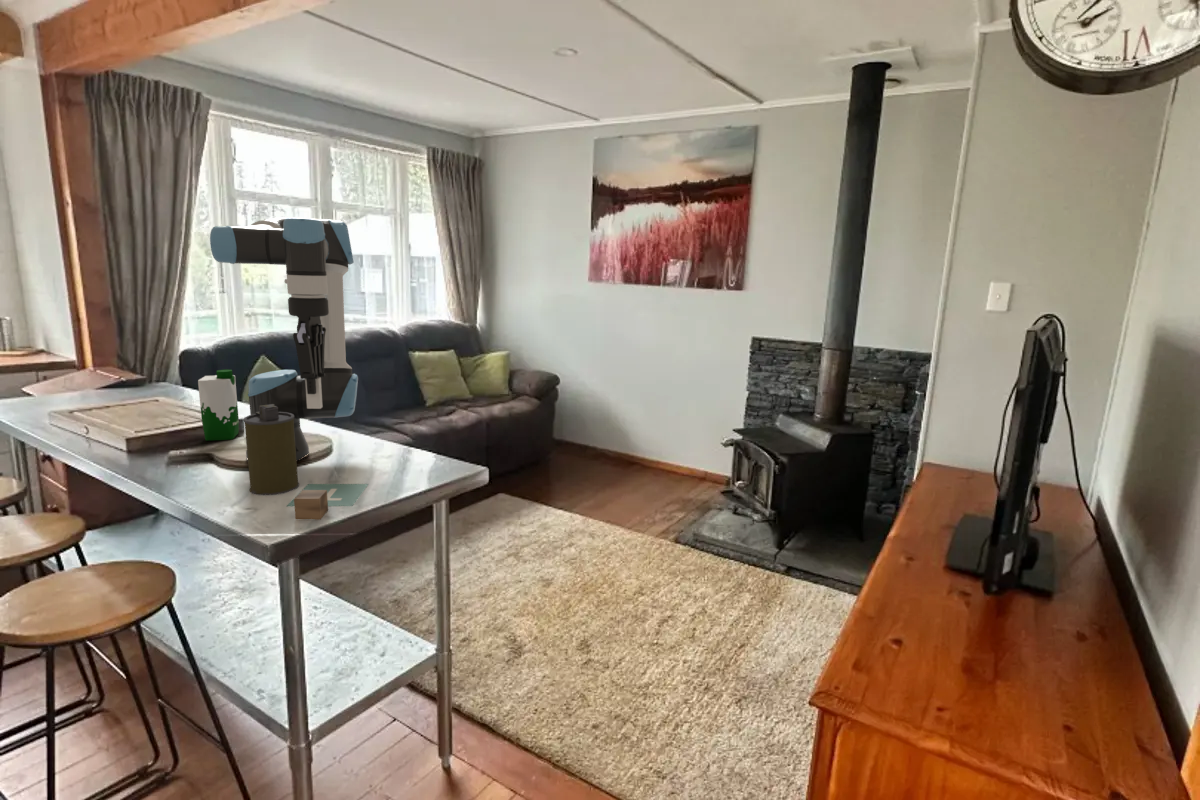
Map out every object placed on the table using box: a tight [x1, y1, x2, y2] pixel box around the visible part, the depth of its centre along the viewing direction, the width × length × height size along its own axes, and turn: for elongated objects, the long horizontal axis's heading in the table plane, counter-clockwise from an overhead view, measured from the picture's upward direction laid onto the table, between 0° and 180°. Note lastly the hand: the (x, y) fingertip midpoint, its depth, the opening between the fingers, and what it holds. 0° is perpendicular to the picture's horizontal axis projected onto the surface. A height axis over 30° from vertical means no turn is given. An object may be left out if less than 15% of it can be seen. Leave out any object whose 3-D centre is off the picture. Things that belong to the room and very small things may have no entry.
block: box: [293, 489, 329, 520], centre depth 132 cm, size 5×5×5 cm
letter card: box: [286, 483, 369, 507], centre depth 144 cm, size 14×14×1 cm
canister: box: [242, 404, 300, 496], centre depth 145 cm, size 11×10×20 cm
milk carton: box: [197, 368, 240, 442], centre depth 183 cm, size 9×9×20 cm
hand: (314, 407), depth 133 cm, fingers closed
